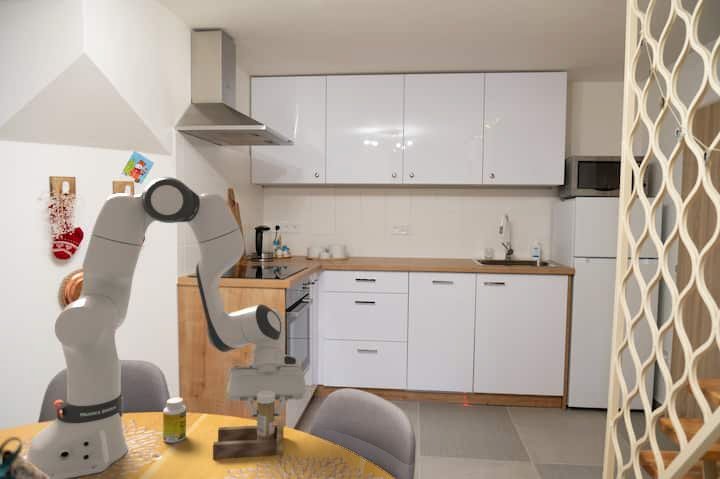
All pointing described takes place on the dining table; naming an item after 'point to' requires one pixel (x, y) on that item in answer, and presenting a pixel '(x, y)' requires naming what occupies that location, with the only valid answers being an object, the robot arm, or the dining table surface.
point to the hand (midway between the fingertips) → (265, 415)
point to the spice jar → (265, 415)
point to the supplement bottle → (174, 421)
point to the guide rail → (247, 442)
